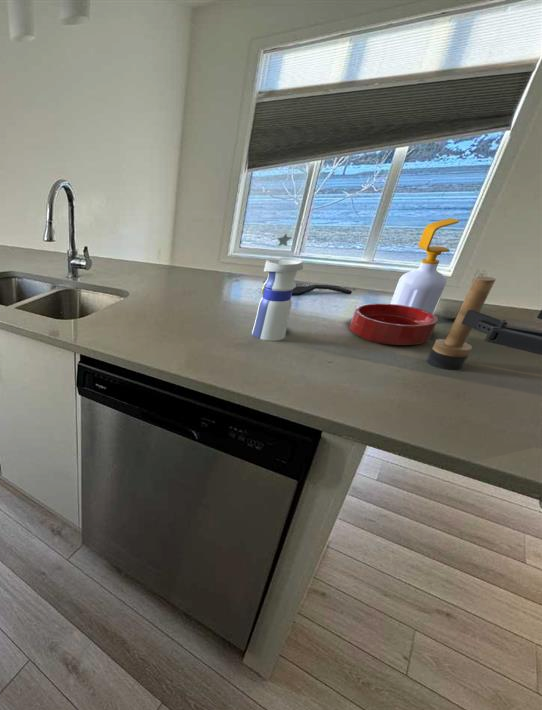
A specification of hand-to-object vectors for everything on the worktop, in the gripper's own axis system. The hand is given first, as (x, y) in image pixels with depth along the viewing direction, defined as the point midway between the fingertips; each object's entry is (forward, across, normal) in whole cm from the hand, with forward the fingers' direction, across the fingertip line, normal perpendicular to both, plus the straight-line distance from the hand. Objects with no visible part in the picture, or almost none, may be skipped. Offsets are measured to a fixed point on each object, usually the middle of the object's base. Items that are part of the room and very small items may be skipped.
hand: (504, 313), depth 75 cm
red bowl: (+22, 0, -14) cm, 26 cm away
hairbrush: (+57, 0, -14) cm, 59 cm away
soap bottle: (+32, +13, -14) cm, 37 cm away
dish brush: (+6, 0, -14) cm, 15 cm away
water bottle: (+27, -27, -14) cm, 41 cm away
